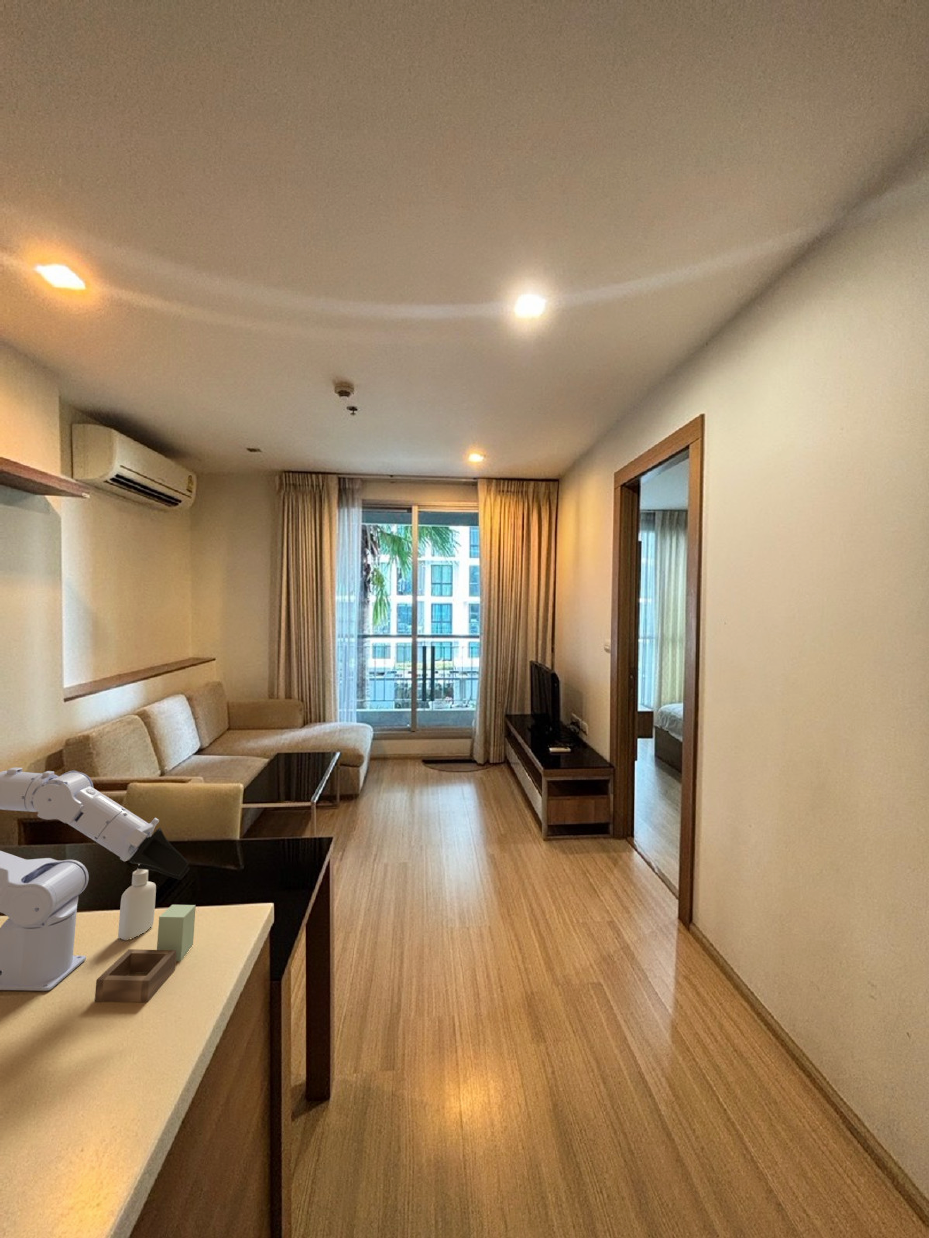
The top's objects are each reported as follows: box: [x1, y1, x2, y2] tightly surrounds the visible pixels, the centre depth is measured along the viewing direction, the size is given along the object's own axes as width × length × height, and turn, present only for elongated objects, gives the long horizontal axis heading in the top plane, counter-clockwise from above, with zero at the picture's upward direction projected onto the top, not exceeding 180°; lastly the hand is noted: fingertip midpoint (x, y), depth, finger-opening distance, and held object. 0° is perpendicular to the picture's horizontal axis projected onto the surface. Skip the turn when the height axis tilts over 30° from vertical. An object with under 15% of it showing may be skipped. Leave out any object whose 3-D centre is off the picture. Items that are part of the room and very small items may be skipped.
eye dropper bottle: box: [117, 864, 157, 941], centre depth 91 cm, size 4×6×12 cm
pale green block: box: [156, 904, 196, 962], centre depth 86 cm, size 4×4×7 cm
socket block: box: [94, 948, 177, 1003], centre depth 77 cm, size 8×8×3 cm
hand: (184, 871), depth 82 cm, fingers open, 7 cm apart
